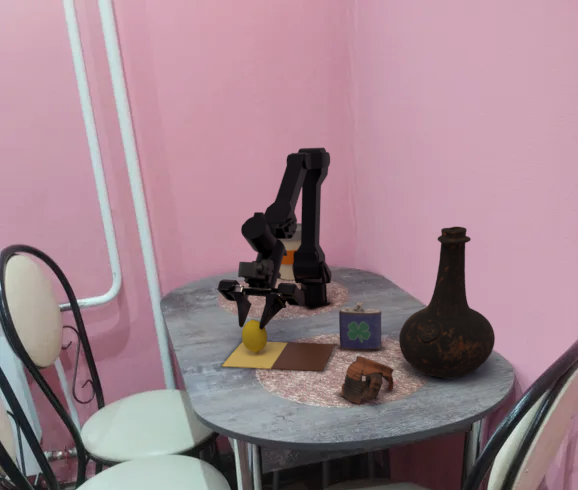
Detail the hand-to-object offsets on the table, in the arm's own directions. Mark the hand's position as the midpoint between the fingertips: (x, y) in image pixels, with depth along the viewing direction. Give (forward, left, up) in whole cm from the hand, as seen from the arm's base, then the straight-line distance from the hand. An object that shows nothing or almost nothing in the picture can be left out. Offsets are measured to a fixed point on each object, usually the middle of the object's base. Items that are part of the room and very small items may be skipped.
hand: (250, 327), depth 130 cm
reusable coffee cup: (-40, -50, -7) cm, 64 cm away
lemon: (-1, -1, -7) cm, 7 cm away
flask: (-21, +11, -7) cm, 25 cm away
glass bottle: (-28, +30, -7) cm, 42 cm away
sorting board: (-5, +3, -7) cm, 9 cm away
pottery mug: (-9, +30, -7) cm, 32 cm away
